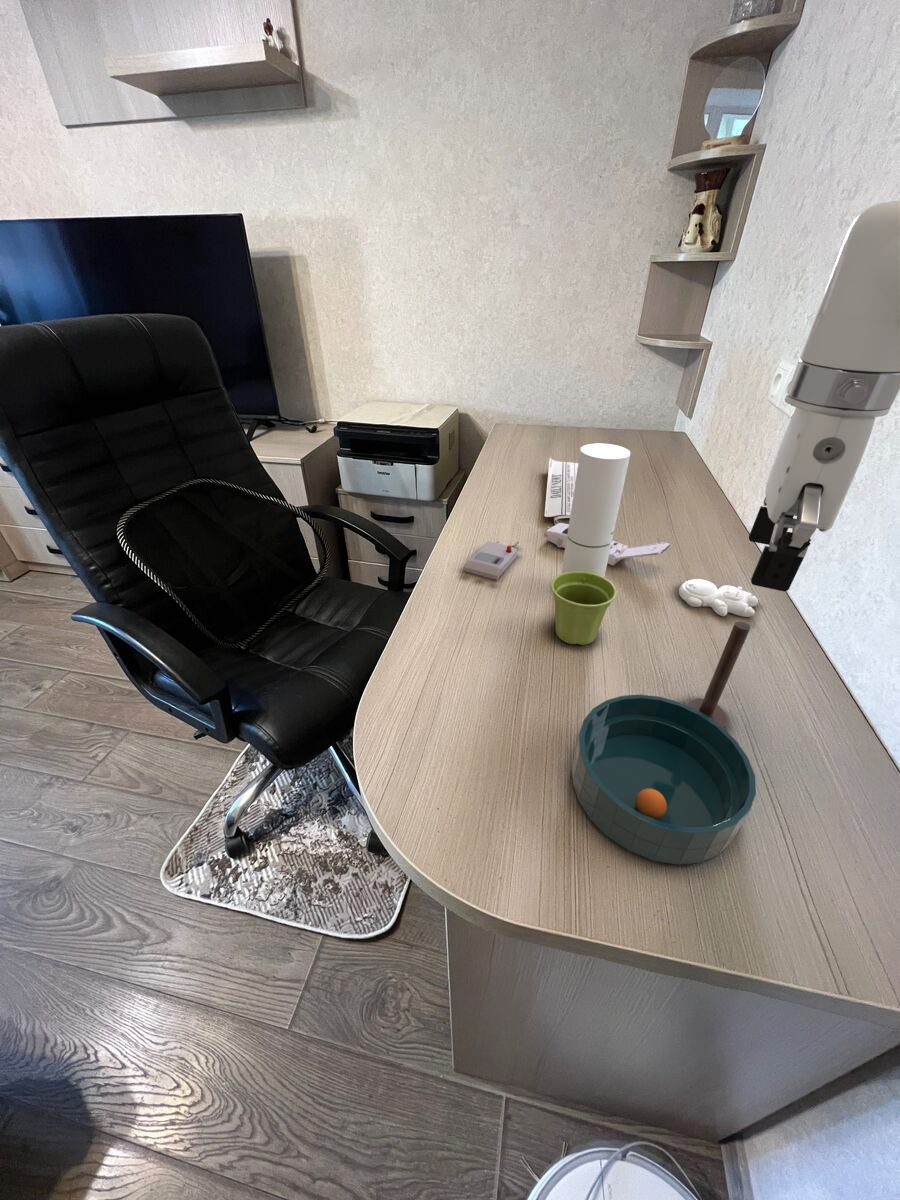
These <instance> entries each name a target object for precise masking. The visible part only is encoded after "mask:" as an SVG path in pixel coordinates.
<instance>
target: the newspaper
mask: <svg viewBox="0 0 900 1200" xmlns="http://www.w3.org/2000/svg"><path fill="white" fill-rule="evenodd" d="M578 463H579V462H573V461H572V462H571V461H570V462H569V461H558V460H554V459H553V458H551V457H549V462H548V472H547V481H546V493H545V504H544V515H543V516H544V517H545V518H552V517H553V524H554V525H556V524H558V523H564V524H569V521H570V514H571V508H572V501H573V495H574V488H575V482H576V476H577V469H578Z"/></svg>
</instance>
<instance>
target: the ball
mask: <svg viewBox="0 0 900 1200" xmlns="http://www.w3.org/2000/svg"><path fill="white" fill-rule="evenodd" d="M635 803H636V808H637V810H638V812H639V813H641V814H642V815H645V816H647V817H650V818H653V819H655V820H657V819H659V818H661V817H662V816H663V815H664V814H665V812H666V809H667V804H666V800H665V798H664V797H663V795H662V794H661V793H660V792H658V791H657V790H654V789H644V790H642V791H640V792H639V793H638V795H637V797H636V801H635Z"/></svg>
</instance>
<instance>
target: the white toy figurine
mask: <svg viewBox="0 0 900 1200" xmlns="http://www.w3.org/2000/svg"><path fill="white" fill-rule="evenodd" d="M678 595H679V597H680V598H681V599H682V600H683V601H684V602H685V603H687V605H688V606H690V607H692V608H700V607H710V608H712V610H713V611H714V612H715V614H717V615H718V616H720V617H725V616H727V615H728V613H729V614H733V615H736V616H739V617H742V618H743V617H744V618H752V617H753V616H754V615H755V610H754V608H753V607H756V606H757V605H758V603H759V599H758V598H757V597H756V596H755V595H753V594H752V593H751V592H748V591H744V590H743V586H738V587H736V586H732V585H729V584H727V585H722V586H720V587H719V588H718V587H717V585H716V584H715V583H713V582H711V581H709V580H707V579H701V578H694V579H688V580H686V581H684V582H683V583H682V584H681V585H680V586H679V590H678Z"/></svg>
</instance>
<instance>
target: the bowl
mask: <svg viewBox="0 0 900 1200" xmlns="http://www.w3.org/2000/svg"><path fill="white" fill-rule="evenodd" d="M685 704H686V703H683V702H680V701H676V700H673V699H670V698H666V697H663V696H657V695H648V694H639V693H638V694H624V695H619V696H617V697H613V698H610V699H606V700H604V701H603V702H601V703H599V704H598V705H596V706H595V707H593V708H592V709H591V711H590V712H588V714H587V715H586V716H585V718H584V719H583V721H582V724H581V726H580V730H579V733H578V736H577V737H578V738H577V741H576V746H575V752H574V755H573V759H572V763H571V779H572V785H573V788H574V791H575V795H576V797H577V800H578V803H579V804H580V806H581V807H582V809H583V811H584V813H585V814H586V815H587V816H588V818H589V820H590V821H591V822H592V823H593V824H594V825H595V826H596V827H597V828H598V830H600V831H601V832H602V833H603V834H604V835H605V836H606V837H608V838H609V839H610V840H612V841H613V842H615V843H616V844H618V845H619V846H621V847H622V848H624V849H626V850H627V851H629V852H631V853H634V854H636V855H639V856H640V857H643V858H646V859H648V860H651V861H654V862H661V863H666V864H672V865H690V864H699V863H704V862H705V861H707V860H710V859H712V858H715V857H716V856H719V855H720V854H721V853H722V852H723V851H725V849H726V848H727V847H728V846H729V845H730V844H731V843H732V842H733V840H734V838H735V837H736V836H737V833H738V832H739V830H740V829H741V826H742V825H743V823H744V822H745V820H746V818H747V817H748V815H749V813H750V812H751V809H752V806H753V804H754V801H755V799H756V796H757V786H756V785H757V784H756V774H755V772H754V769H753V766H752V764H751V762H750V758H749V757H748V755H747V753H746V752H745V751H744V750H743V748H742V747H741V745H740V744H739V742H738V740H736V739H735V738H734V737H733V736H732V735H731V734H730V733H729V732H728V731H727V730H726V729H725V727H724V728H723V727H722V726H721V725H719V724H718V723H716V722H715V721H714V720H712V719H711V718H709V717H708V716H706V715H705V714H703V713H702V712H700V711H698V710H695V709H693V708H691V707H689V706H687V705H685ZM644 789H654V790H657V791H658V792H660V793H661V794H662V795H663V797H664V798H665V800H666V804H667V809H666V812H665V814H664V815H663V816H662V817H661V818H659V819H657V820H655V819H653V818H650V817H647V816H645V815H642V814H641V813H639V812H638V810H637V808H636V803H635V801H636V797H637V795H638V793H639V792H640V791H642V790H644Z"/></svg>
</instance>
